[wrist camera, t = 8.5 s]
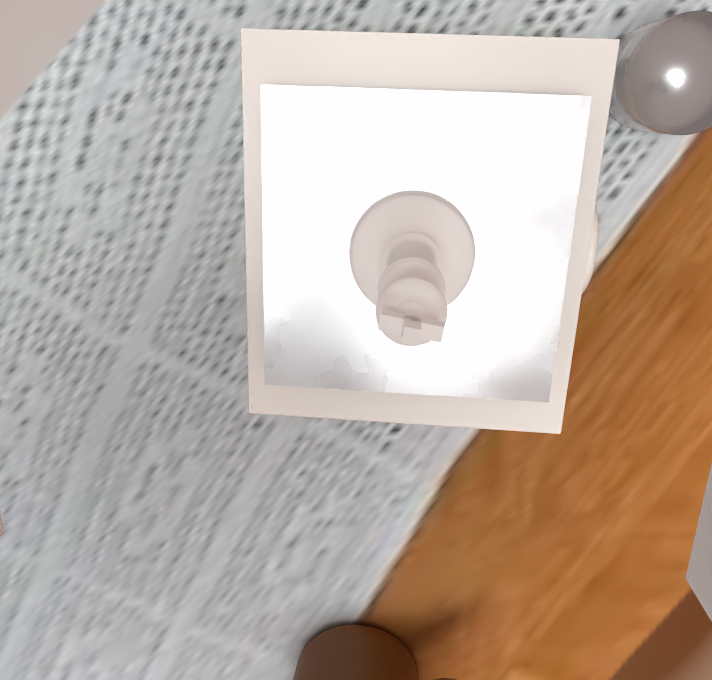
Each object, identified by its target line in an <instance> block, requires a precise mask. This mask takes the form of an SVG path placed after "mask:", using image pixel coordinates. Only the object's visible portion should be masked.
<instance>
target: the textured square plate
mask: <svg viewBox="0 0 712 680" xmlns="http://www.w3.org/2000/svg"><path fill="white" fill-rule="evenodd" d="M591 101H592V96H578V95H548V94H519V93H489V92H460V91H430V90H401V89H371V88H342V87H312V86H283V85H261V131H262V213H263V296H264V379H265V385H280V386H296V387H312V388H327V389H343V390H359V391H375V392H391V393H406V394H422V395H438V396H454V397H470V398H485V399H501V400H517V401H533V402H549V397H550V390H551V383H552V376H553V369H554V362H555V355H556V348H557V341H558V334H559V327H560V320H561V313H562V306H563V299H564V292H565V285H566V277H567V270H568V263H569V256H570V249H571V242H572V235H573V228H574V221H575V214H576V207H577V200H578V193H579V186H580V179H581V172H582V165H583V157H584V150H585V143H586V136H587V129H588V122H589V115H590V108H591ZM402 191H424V192H429V193H432V194H435V195H438V196H440V197H442V198H444V199H446V200H447V201H449V202H450V203H451V204H453V205H454V206H455V207H456V208H457V209H458V210H459V211H460V212H461V213H462V214H463V216H464V217H465V219H466V220H467V222H468V224H469V226H470V228H471V230H472V233H473V236H474V241H475V250H476V254H475V263H474V268H473V271H472V275H471V277H470V280H469V282H468V284H467V286H466V287H465V289H464V290H463V292H462V293H461V294H460V295H459V297H458V298H457V299H456V300H455V301H453V302H452V303H451V304H450V305H448V306H447V310H448V313H447V320H446V323H445V329H444V333H443V337H442V341H441V343H439V342H434V341H430V342H428V343H426V344H423V345H419V346H404V345H400V344H397V343H395V342H393V341H392V340H390V339H389V338H388V337H386V336H385V334H384V333H383V332H382V331H381V330H378V323H377V319H376V306H375V305H374V304H373V303H372V302H370V301H369V300H368V299H367V298H366V297H365V296H364V294H363V293H362V292H361V290H360V289H359V287H358V285H357V284H356V281H355V279H354V277H353V274H352V270H351V266H350V259H349V248H350V241H351V237H352V234H353V231H354V229H355V226H356V224H357V223H358V221H359V219H360V218H361V217H362V215H363V214H364V213H365V212H366V211H367V210H368V209H369V208H370V207H371V206H372V205H373V204H374V203H376V202H377V201H379V200H380V199H382V198H384V197H386V196H388V195H391V194H394V193H398V192H402Z"/></svg>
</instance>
